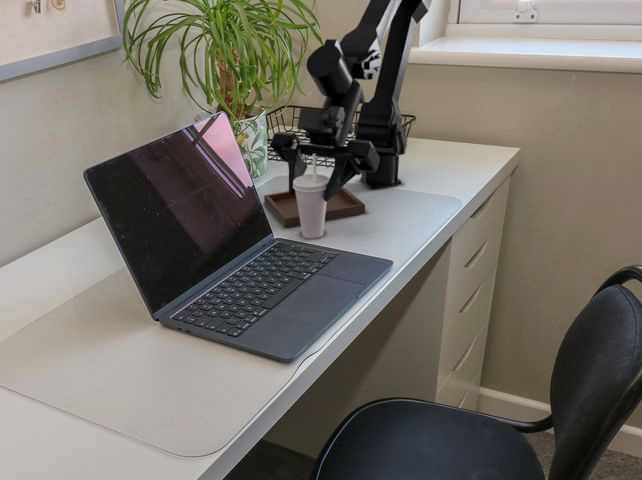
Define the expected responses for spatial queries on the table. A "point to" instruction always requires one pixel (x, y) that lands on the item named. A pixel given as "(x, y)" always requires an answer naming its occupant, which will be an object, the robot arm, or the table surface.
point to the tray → (335, 207)
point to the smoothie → (311, 202)
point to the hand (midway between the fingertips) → (307, 197)
